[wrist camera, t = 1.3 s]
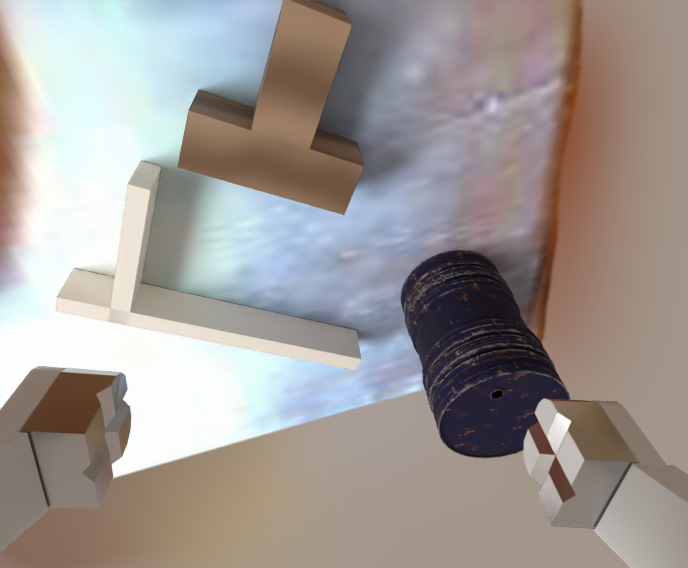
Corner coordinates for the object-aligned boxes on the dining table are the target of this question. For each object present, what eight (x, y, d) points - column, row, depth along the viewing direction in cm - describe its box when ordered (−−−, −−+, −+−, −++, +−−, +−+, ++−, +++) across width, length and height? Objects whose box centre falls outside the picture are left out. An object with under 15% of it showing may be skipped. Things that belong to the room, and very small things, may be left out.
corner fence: (83, 144, 37) (64, 167, 34) (404, 235, 44) (413, 261, 41) (72, 281, 44) (55, 311, 41) (351, 341, 51) (355, 370, 48)
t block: (223, -37, 31) (215, -30, 28) (399, 34, 35) (412, 49, 31) (187, 142, 38) (177, 167, 34) (338, 187, 41) (344, 214, 37)
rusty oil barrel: (508, 311, 51) (577, 436, 39) (415, 343, 52) (453, 472, 40) (490, 233, 45) (565, 352, 33) (386, 271, 46) (421, 397, 34)
